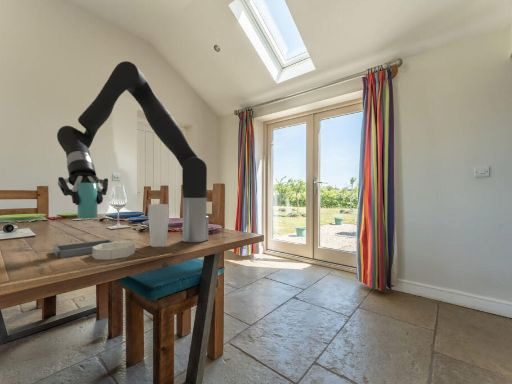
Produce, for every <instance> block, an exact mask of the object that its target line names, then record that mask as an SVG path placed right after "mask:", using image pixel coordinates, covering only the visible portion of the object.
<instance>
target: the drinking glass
mask: <svg viewBox="0 0 512 384" xmlns="http://www.w3.org/2000/svg"><path fill="white" fill-rule="evenodd" d="M147 210H148V212H147V213H148V215H147V217H148V224H149V225H148V227H149V229H148V230H149V241H150V243H149V244H150V247H153V248H157V247H158V248H160V247H162V248H165V247H166V246H167V243H168V242H167V241H168V238H167V237H168V229H169V218H170V217H169V216H170V204H168V203H152V204H150V203H149V204H148V209H147Z"/></svg>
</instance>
